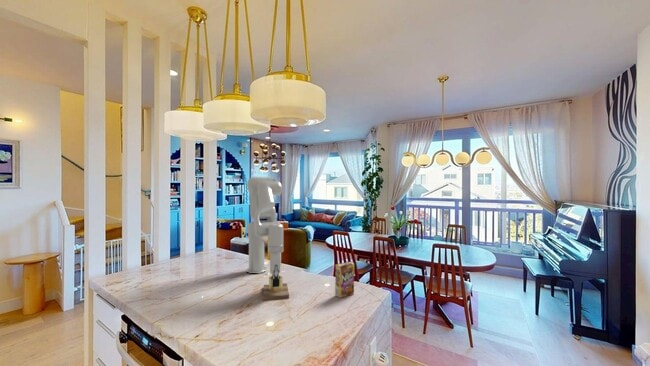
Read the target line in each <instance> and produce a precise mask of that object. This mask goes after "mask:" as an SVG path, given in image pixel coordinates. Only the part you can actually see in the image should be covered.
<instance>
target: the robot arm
mask: <svg viewBox="0 0 650 366" xmlns="http://www.w3.org/2000/svg"><path fill="white" fill-rule="evenodd" d="M246 187H247V190H248V193H249V198H250V200H249V201H250V202H249V213H250V218H252V219H253V221H251V222H249V223H248V224H247V228H246V229H247V235H248V268H246V270H245V272H246V271H247V272H249V273H259V274H262V273H261V272H263V273H265V272H267V271H268V268H267V267H265V241H264V240H263V238H266V237H267V238H268V240H267V241H268V243H267V245H268V247H267V249H268V253H269V274H271V276H273V287H279V276H280V273H281V268H282V267H281V265H282V253H283V252H284V225H283V224H282V223H281V222H279V221H277V220H276V219H277V217H276V213H277V211H276V207H275V206H276V202H275V197H276V196H281V195H282V193H283V185H282V183H281V182H280V181H279V180H278V179H277V178H275V177H263V176H261V177H260V176H258V177H257V176H254V177H249V178H248V180H247V186H246ZM262 219H266V220H262ZM264 271H265V272H264ZM247 272H246V273H247ZM249 273H248V274H249Z"/></svg>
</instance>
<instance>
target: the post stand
mask: <svg viewBox="0 0 650 366" xmlns="http://www.w3.org/2000/svg"><path fill="white" fill-rule="evenodd" d="M262 292H263V294H262V301H271V300H272V301H273V300H284V299H290V294H289V288H288V283H286V282H285V283H284V282H283V287H282V291H280V292H270V291H269V284H264V285H263V291H262Z"/></svg>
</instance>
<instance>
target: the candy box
mask: <svg viewBox="0 0 650 366" xmlns="http://www.w3.org/2000/svg"><path fill="white" fill-rule="evenodd" d="M334 283H335V287H334V295H335V297H338V298H339V299H341V298H344V297H348V296H351V295H354V294H355V262H351V261H347V262H341V263H336V264H335V282H334Z"/></svg>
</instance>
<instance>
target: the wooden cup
mask: <svg viewBox="0 0 650 366" xmlns="http://www.w3.org/2000/svg"><path fill="white" fill-rule="evenodd" d="M283 281H284V280H283V276H282V275H279V287H273V276H272V275H271V276H269V277H268V285H269V291H270V292H280V291H282V287H283V283H284V282H283Z"/></svg>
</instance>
